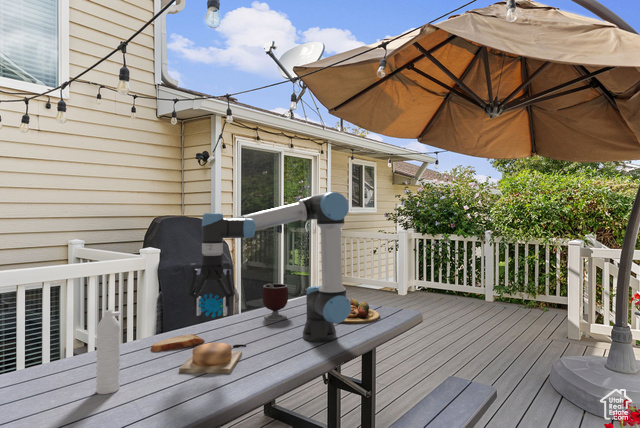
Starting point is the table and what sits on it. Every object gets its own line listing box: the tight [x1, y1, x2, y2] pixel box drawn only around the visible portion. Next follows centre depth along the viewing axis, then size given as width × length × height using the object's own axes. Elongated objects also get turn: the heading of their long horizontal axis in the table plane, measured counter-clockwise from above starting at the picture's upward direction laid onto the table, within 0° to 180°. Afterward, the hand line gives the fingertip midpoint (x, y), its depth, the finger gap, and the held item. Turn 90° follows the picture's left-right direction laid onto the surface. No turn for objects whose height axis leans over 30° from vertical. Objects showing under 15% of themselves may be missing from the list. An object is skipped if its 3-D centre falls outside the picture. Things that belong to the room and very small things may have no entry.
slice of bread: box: [150, 333, 205, 353], centre depth 168 cm, size 18×18×4 cm
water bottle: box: [95, 309, 121, 395], centre depth 124 cm, size 9×6×25 cm
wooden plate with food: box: [339, 298, 381, 325], centre depth 217 cm, size 32×32×8 cm
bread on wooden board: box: [178, 342, 243, 374], centre depth 147 cm, size 18×18×6 cm
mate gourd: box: [261, 282, 289, 321], centre depth 214 cm, size 16×14×20 cm
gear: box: [198, 293, 223, 318], centre depth 149 cm, size 11×6×10 cm
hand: (211, 315), depth 147 cm, fingers closed on gear, 9 cm apart
